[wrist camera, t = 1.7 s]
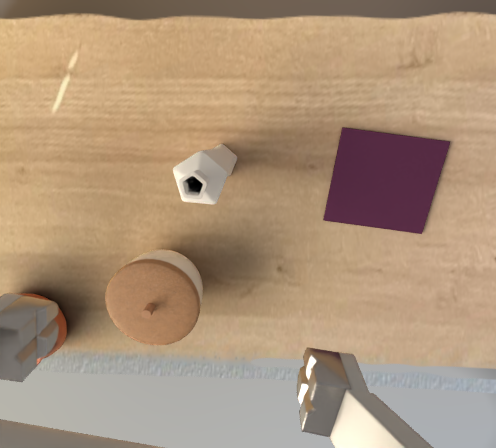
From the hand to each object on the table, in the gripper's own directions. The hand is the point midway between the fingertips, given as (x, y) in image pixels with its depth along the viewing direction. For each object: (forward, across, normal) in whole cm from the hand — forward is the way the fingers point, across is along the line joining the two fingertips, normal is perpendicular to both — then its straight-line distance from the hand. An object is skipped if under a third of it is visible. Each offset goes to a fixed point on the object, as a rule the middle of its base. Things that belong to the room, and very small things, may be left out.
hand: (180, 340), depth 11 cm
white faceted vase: (+31, +3, -2) cm, 31 cm away
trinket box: (+31, +7, +15) cm, 35 cm away
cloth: (+30, -17, -3) cm, 35 cm away
